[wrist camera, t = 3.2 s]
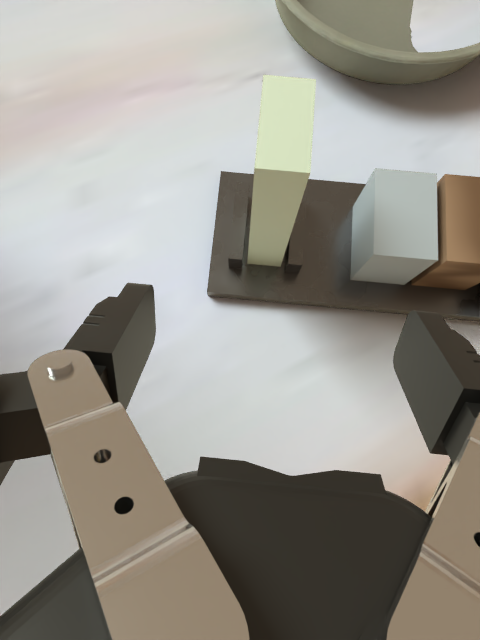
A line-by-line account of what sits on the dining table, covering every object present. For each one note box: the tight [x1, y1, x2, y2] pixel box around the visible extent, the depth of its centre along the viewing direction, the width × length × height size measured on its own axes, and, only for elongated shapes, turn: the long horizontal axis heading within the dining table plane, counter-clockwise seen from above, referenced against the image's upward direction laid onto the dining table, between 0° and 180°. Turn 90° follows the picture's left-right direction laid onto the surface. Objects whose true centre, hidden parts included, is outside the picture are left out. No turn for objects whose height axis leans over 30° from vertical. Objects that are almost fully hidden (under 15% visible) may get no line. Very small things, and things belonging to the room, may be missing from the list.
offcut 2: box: [411, 174, 480, 290], centre depth 27 cm, size 4×6×5 cm, turn 175°
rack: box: [207, 171, 480, 321], centre depth 29 cm, size 21×10×4 cm, turn 85°
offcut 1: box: [350, 168, 438, 285], centre depth 27 cm, size 4×6×5 cm, turn 175°
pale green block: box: [247, 75, 316, 267], centre depth 24 cm, size 2×5×12 cm, turn 174°
